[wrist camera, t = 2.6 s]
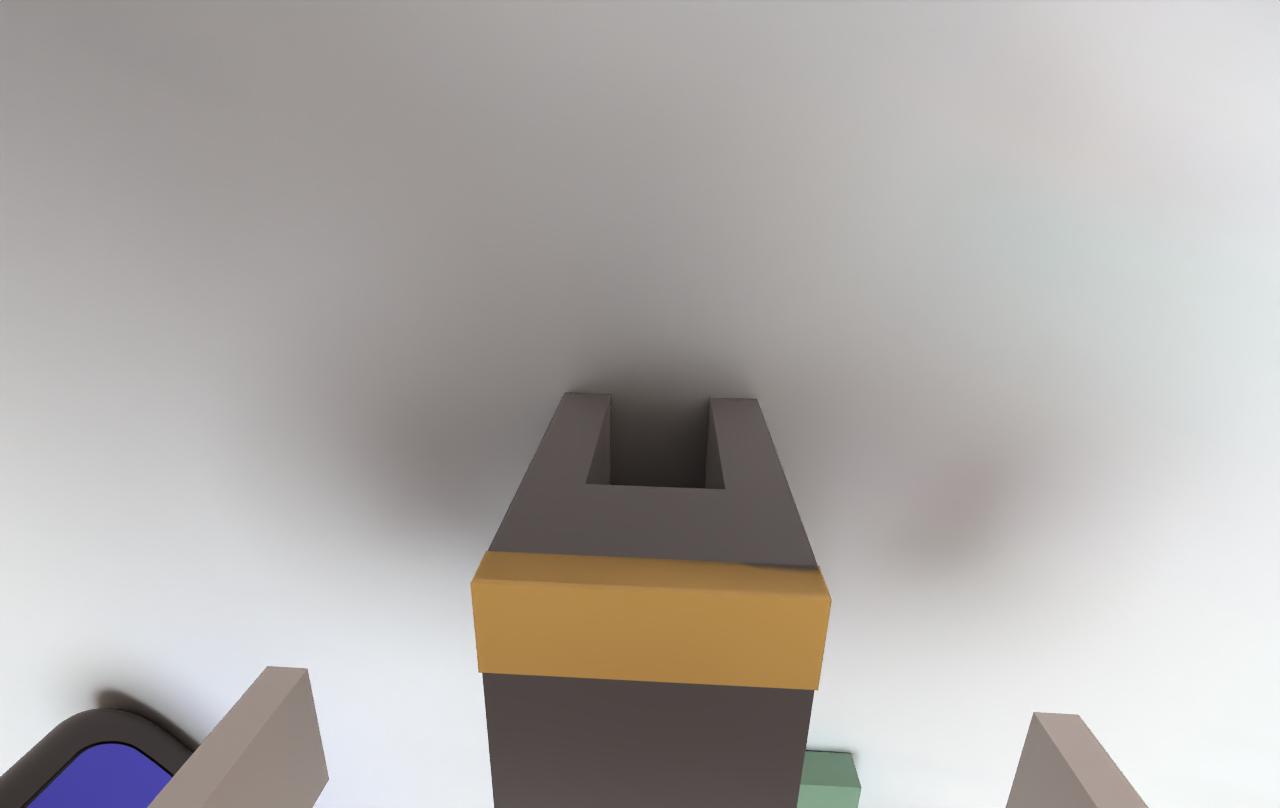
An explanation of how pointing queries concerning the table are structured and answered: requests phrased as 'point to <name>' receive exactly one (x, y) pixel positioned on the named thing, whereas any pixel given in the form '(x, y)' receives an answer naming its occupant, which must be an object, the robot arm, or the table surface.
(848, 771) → the header
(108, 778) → the computer mouse
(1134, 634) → the table surface
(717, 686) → the gray orange-striped box
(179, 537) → the table surface
